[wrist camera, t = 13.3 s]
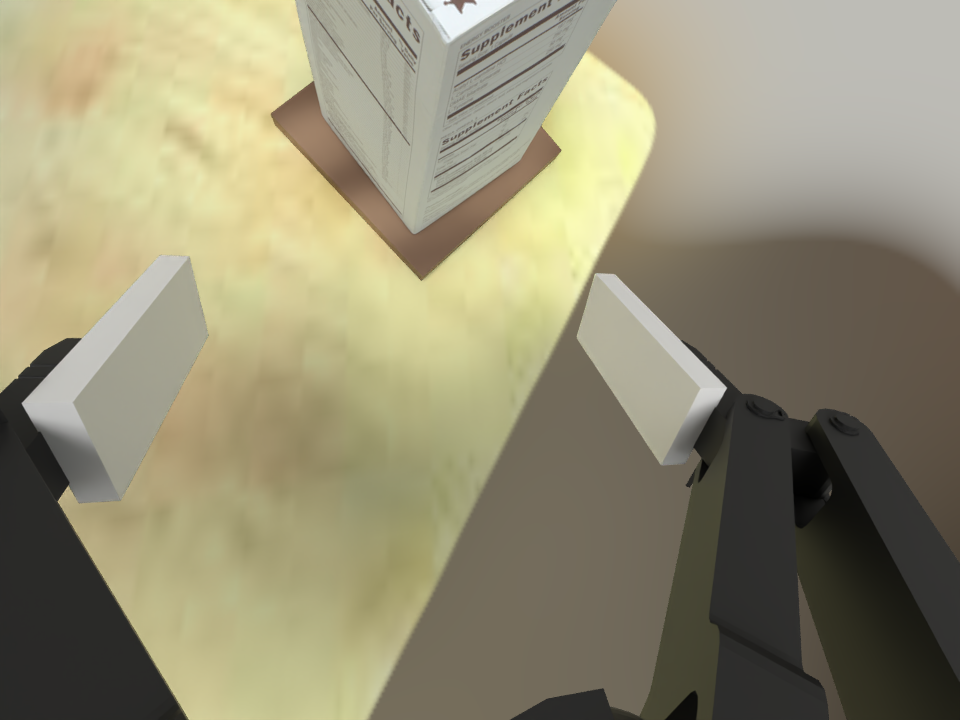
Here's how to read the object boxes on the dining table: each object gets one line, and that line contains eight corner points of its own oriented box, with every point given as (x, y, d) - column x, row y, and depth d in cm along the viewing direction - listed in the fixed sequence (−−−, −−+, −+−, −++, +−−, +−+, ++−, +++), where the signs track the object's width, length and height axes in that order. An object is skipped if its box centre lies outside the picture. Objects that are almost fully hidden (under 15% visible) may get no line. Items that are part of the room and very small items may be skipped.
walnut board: (275, 124, 28) (270, 113, 27) (426, 7, 31) (428, -7, 29) (421, 280, 30) (423, 276, 29) (554, 158, 32) (561, 150, 31)
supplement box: (524, 161, 30) (692, -93, 14) (413, 240, 29) (457, 56, 12) (435, 37, 29) (503, -395, 13) (315, 111, 28) (217, -280, 11)
